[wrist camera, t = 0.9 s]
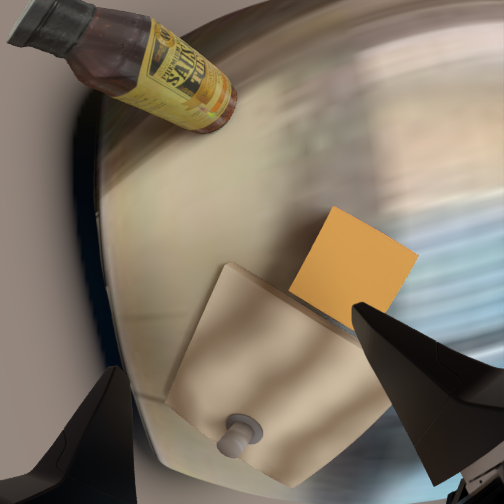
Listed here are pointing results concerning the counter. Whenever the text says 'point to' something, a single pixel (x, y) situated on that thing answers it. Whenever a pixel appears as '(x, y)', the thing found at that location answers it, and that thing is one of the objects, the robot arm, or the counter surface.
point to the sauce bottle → (130, 61)
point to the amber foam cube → (352, 268)
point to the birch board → (274, 380)
